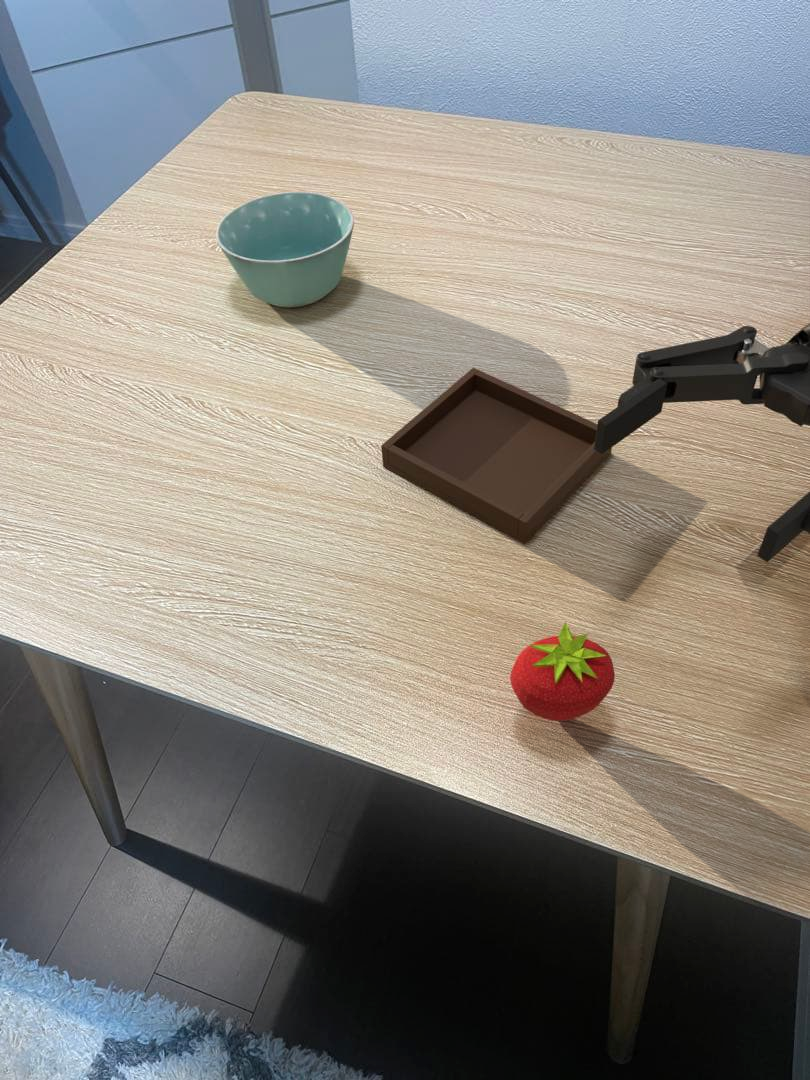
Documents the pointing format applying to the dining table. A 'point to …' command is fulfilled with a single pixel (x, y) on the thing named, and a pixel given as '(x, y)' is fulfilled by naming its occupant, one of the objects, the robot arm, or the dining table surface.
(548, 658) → the strawberry
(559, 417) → the tray
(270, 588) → the dining table surface
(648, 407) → the robot arm
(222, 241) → the bowl
